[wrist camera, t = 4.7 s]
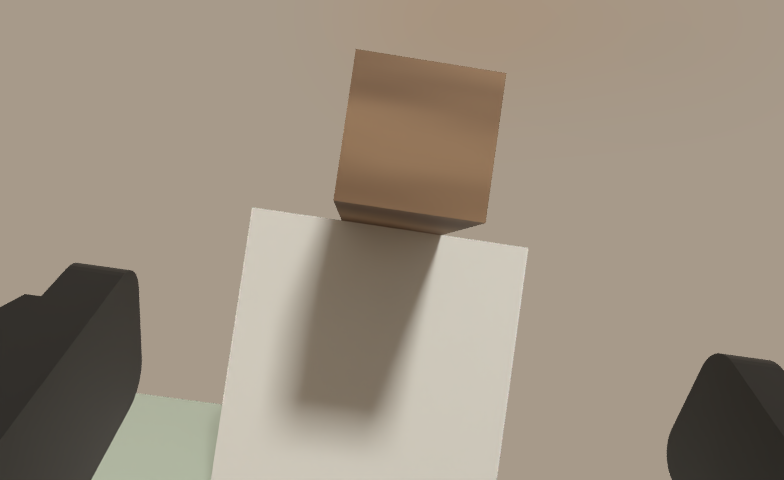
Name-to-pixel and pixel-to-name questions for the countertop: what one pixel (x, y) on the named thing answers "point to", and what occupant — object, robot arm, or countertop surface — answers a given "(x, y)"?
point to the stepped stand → (346, 363)
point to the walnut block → (418, 144)
